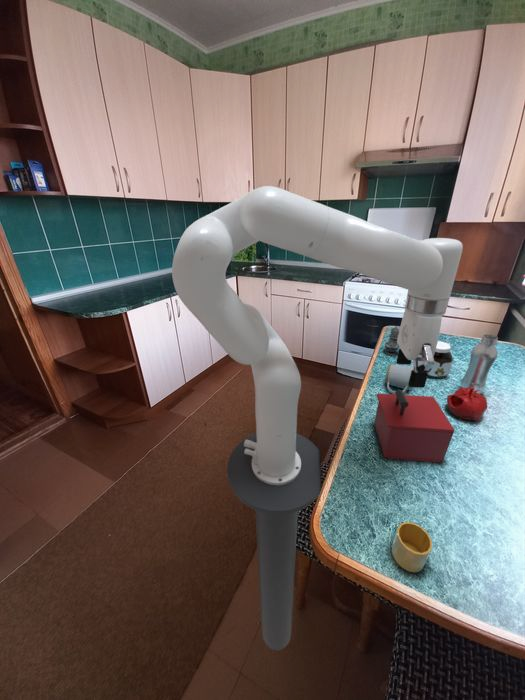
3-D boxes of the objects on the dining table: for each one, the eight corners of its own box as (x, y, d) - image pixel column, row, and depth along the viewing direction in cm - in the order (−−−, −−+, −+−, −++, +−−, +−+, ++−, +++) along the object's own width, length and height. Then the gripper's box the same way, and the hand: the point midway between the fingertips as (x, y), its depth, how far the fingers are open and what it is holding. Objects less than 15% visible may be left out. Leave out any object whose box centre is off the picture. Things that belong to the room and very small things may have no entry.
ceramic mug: (386, 376, 105) (390, 358, 101) (411, 382, 101) (416, 363, 97) (381, 392, 97) (385, 373, 93) (408, 399, 93) (413, 379, 89)
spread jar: (418, 376, 104) (425, 348, 99) (413, 361, 114) (420, 334, 109) (455, 381, 101) (465, 352, 96) (447, 365, 111) (456, 338, 105)
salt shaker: (399, 356, 118) (405, 329, 112) (383, 355, 119) (388, 328, 114) (397, 350, 123) (403, 324, 117) (382, 348, 124) (387, 322, 119)
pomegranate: (480, 407, 89) (491, 382, 84) (485, 428, 81) (496, 401, 77) (443, 398, 93) (451, 374, 89) (444, 417, 85) (453, 391, 81)
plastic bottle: (486, 398, 93) (509, 342, 83) (463, 396, 94) (483, 341, 84) (476, 386, 98) (497, 333, 89) (454, 385, 99) (473, 332, 90)
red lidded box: (384, 457, 72) (391, 428, 68) (374, 423, 84) (379, 396, 79) (442, 463, 71) (453, 432, 66) (424, 427, 82) (432, 399, 77)
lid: (387, 427, 68) (391, 411, 66) (376, 395, 79) (379, 380, 77) (453, 432, 66) (460, 415, 64) (432, 399, 77) (437, 383, 75)
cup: (391, 564, 51) (397, 546, 49) (392, 535, 56) (397, 517, 53) (425, 578, 50) (433, 560, 47) (423, 546, 54) (430, 528, 51)
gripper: (395, 291, 67) (383, 355, 75) (420, 318, 52) (402, 396, 60) (430, 291, 66) (414, 357, 74) (466, 319, 51) (441, 398, 59)
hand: (409, 374), depth 67 cm, fingers open, 9 cm apart
